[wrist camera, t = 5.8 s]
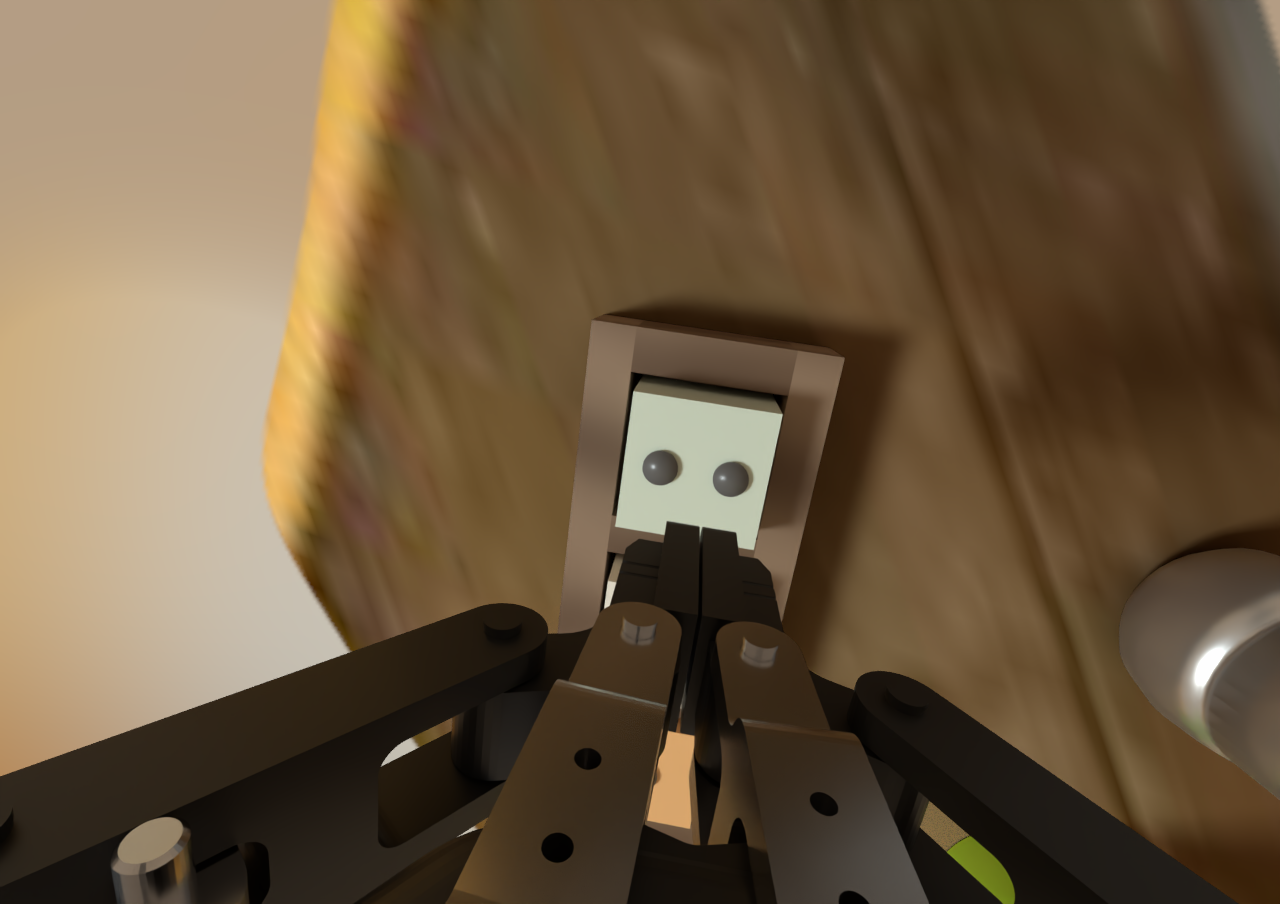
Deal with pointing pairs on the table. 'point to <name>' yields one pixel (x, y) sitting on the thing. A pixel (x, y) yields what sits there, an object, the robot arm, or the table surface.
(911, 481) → the table surface
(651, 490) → the two dot button
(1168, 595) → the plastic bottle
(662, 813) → the one dot button
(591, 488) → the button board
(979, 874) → the soap dispenser
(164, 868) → the robot arm
